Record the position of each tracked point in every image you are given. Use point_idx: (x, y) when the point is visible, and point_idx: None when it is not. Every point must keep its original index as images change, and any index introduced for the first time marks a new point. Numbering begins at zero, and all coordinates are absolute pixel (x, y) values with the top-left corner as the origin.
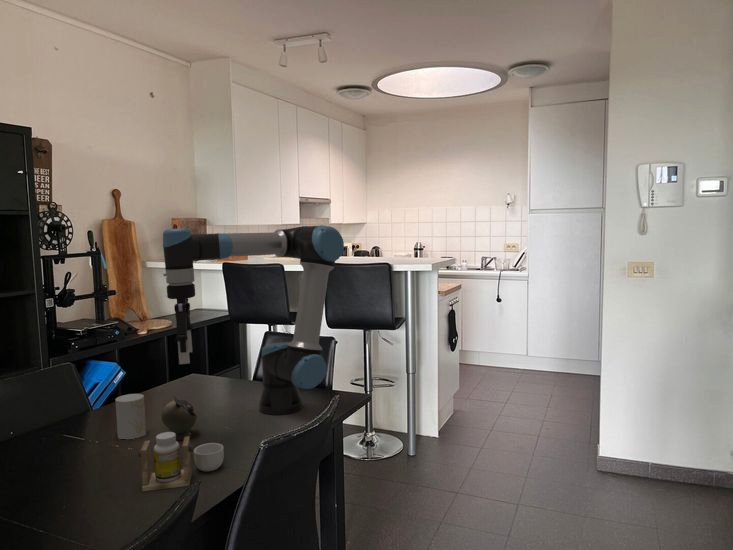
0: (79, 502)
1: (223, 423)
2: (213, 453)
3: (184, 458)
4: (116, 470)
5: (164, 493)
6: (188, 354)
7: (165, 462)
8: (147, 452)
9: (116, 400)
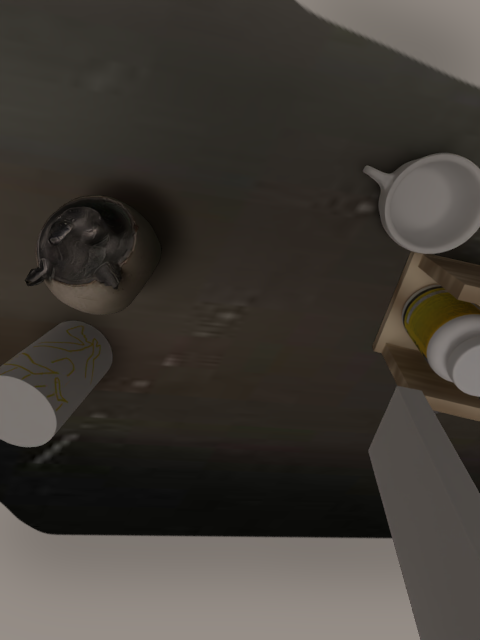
0: None
1: (57, 86)
2: None
3: None
4: (291, 396)
5: None
6: (453, 456)
7: None
8: (458, 395)
9: (35, 445)
